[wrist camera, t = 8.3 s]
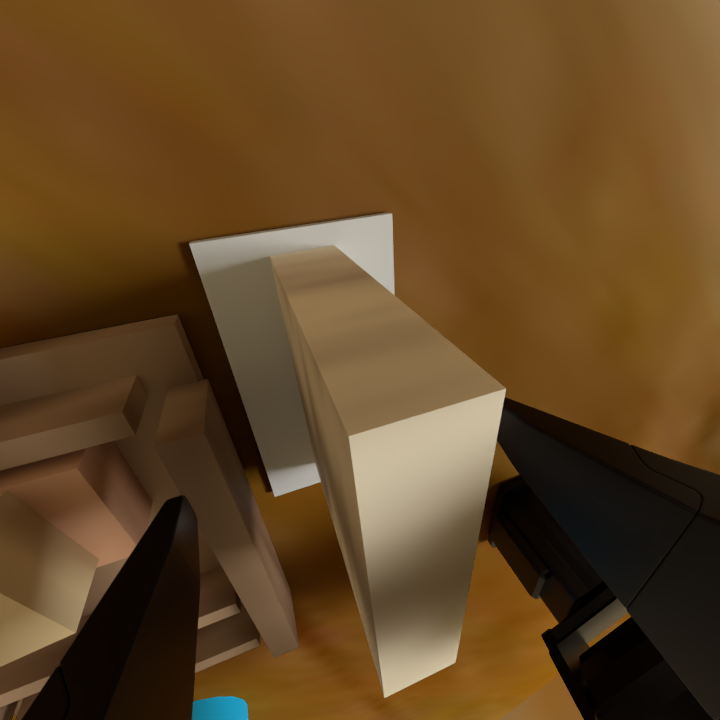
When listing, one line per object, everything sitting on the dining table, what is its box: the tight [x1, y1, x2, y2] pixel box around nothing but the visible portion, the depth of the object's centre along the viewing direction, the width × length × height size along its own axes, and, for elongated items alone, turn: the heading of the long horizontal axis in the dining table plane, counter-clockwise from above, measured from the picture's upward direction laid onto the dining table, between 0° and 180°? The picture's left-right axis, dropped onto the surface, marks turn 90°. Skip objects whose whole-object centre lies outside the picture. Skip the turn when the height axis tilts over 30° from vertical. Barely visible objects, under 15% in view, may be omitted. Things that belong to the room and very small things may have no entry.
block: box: [270, 245, 506, 698], centre depth 10 cm, size 9×2×8 cm, turn 5°
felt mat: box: [189, 212, 394, 497], centre depth 13 cm, size 6×11×1 cm, turn 5°
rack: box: [0, 314, 299, 720], centre depth 12 cm, size 14×18×3 cm
